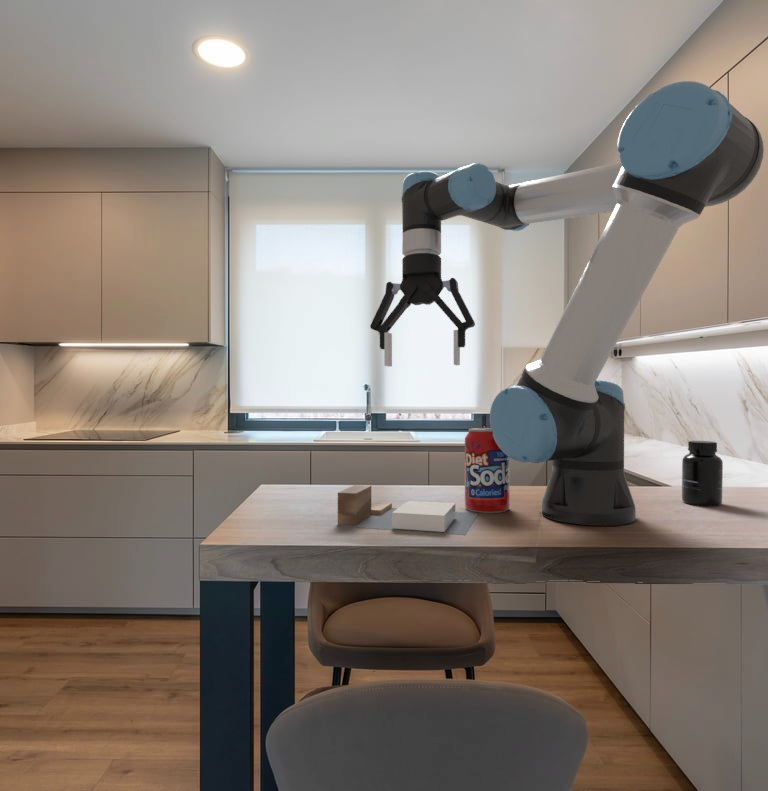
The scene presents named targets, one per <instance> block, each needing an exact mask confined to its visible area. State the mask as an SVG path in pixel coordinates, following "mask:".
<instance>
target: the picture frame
mask: <svg viewBox="0 0 768 791" xmlns="http://www.w3.org/2000/svg"><path fill="white" fill-rule="evenodd" d="M397 508H398V509H396V510H395V511H393V512H392V528H394V529H408V530H423V531H437V532H445V531H446V529H447V528H448V527H449V525H450V524H451V523H452V522H453V520H454V519H455V512H456V502H436V501H434V502H433V501H417V500H408V501H407V500H406V502H405V503H403V504H401V505H400V506H399V507H397Z"/></svg>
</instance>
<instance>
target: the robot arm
mask: <svg viewBox="0 0 768 791" xmlns="http://www.w3.org/2000/svg"><path fill="white" fill-rule="evenodd" d="M622 124H623V125H622V127H621V129H620V131H619V134H618V138H617V146H616V147H617V148H616V149H617V151H618V158H619V162H615V163H614V162H613V163H610V164H609V163H608V164H606V165H600V166H595V167H591V168H587V169H582V170H576V171H573V172H571V171H570V172H567V173H564V174H563V173H562V174H558V175H553V176H547V177H543V178H538V179H534V180H530V181H525V182H520V183H515V184H510V185H508V184H507V185H506V184H503V183H501V182H498V181H496V179H495V177H494V173H493V172H492V171H490V170H489V168H488V166H487V165H485V164H483V163H482V162H481V163H480V162H476V163H475V162H474V163H471V164H469V165H464V166H460V167H459V168H457V169H454V170H452V171H451V172H448V173H446V174H443V175H441V176H440V175H438V174H437V173H436V172H433V171H429V170H428V171H426V170H421V171H418V172H416V171H415V172H412V173H409V174H408V175H406V176H405V178H404V179H403V182H402V192H401V193H402V195H401V203H402V204H401V205H402V208H401V210H402V211H401V212H402V219H401V220H402V221H401V222H402V223H401V224H402V242H401V243H402V244H401V245H402V248H401V249H402V255H403V256H404V257H402V260H401V262H402V263H401V264H402V267H401V268H402V276H401V277H402V279H401V283H393V282H392V281H388V282H387V283H386V284H385V292H384V293H385V294H384V295H383V298H382V300H381V302H380V304H379V306H378V309H376V313H375V315H374V316H373V319H372V322H371V324H370V326H369V327H370V329H371V330H373V331H376V332H378V333H379V349H380V350H384V359H383V360H384V365H383V366H384V367H393V334H392V333H391V332H389V331H390V330H391V329H392V327H393V326H394V325H395V324H396V322H398V320H399V319H400V318H401V316H403V314H404V312H405V311H406V310H407V309H408V308H410V306H411V305H414V306H420V305H427V306H429V305H432V304H433V303H435V304H436V305H437V306H438V307H439V308H440V310H441V311H442V312H443V313H444V314H445V315H446V316H447V318H448V319H449V320H450V321H451V322H452V323H453V324H454V325H455V327H456V328H457V329H453V366H460V365H461V360H460V359H461V354H460V352H461V348H466V332H467V330H468V329H470V328H474V327H475V326H476V322H475V321H474V318H473V317H472V314H471V313H470V310H469V309H468V307H467V305H466V303H465V301H464V299H463V296H462V295H461V294H460V291H459V284H458V283H459V282H458V280H456V278H454V277H451V278H450V279H447V280H443V279H442V258H441V256H440V255H441V253H442V221H445V220H448V219H452V218H454V217H458V216H460V217H461V216H462V217H465V218H469V219H472V220H475V221H478V222H482V223H485V224H488V225H491V226H495V227H497V228H499V229H501V230H505V231H514V232H519V231H522V230H524V229H525V228H527V227H528V226H529V225H530V224H535V223H543V222H549V221H557V220H565V219H571V218H579V217H585V216H586V217H587V216H593V215H600V214H607V213H611V215H610V217H609V219H608V220H607V223H606V225H605V227H604V229H603V231H602V233H601V235H600V237H599V239H598V242H597V244H596V245H595V248H594V249H593V252H592V254H591V256H590V258H589V260H588V262H587V264H586V266H585V268H584V270H583V272H582V274H581V275H580V278H579V280H578V282H577V284H576V287H575V288H574V290H573V292H572V294H571V296H570V299H569V301H568V303H567V305H566V307H565V309H564V311H563V312H562V315H561V316H560V319H559V321H558V323H557V325H556V327H555V329H554V331H553V333H552V335H551V337H550V339H549V341H548V343H547V345H546V347H545V349H544V352H543V353H542V355H541V358H539V359H538V360H535V361H532V362H530V363H527V364H526V366H525V367H524V369H523V370H522V374H521V375H520V377H519V379H518V381H517V384H514V385H511V386H508V387H506V388H504V389H502V390H500V391H499V393H498V394H497V395H496V396H495V397H494V399H493V401H492V403H491V406H490V412H489V426H490V427H489V428H491V429H492V431H493V437H494V440H495V442H496V443H497V445H498V447H499V448H500V449H501V450H502V451H503V452H504V453H505V454H506V455H507V456H508V457H509V459H512V460H514V461H517V462H520V463H531V464H541V463H545V462H547V461H552V467H551V468H552V469H551V473H550V476H549V478H548V479H549V480H548V483H547V485H546V489H545V492H544V494H543V497H542V501H541V514H542V516H544V517H546V518H547V519H550V520H553V521H557V522H561V523H562V522H563V523H569V524H575V525H585V526H599V527H600V526H601V527H602V526H604V527H605V526H623V525H627V524H628V525H629V524H632V523H634V522H636V520H637V519H636V517H637V516H636V515H637V514H636V512H637V511H636V510H637V507H636V504H635V501H634V498H633V496H632V493H631V490H630V486H629V484H628V481H627V478H626V475H625V411H626V404H625V402H624V401H625V400H624V399H625V398H624V391H623V389H622V387H621V386H620V385H618V384H617V383H614V382H610V381H605V380H597V379H598V378H599V376H600V374H601V373H602V370H603V369H604V367H605V365H606V363H607V361H608V359H609V358H610V356H611V354H612V352H613V350H614V349H615V346H616V344H617V343H618V341H619V339H620V337H621V335H622V333H623V332H624V330H625V328H626V327H627V325H628V323H629V320H630V319H631V317H632V315H633V313H634V312H635V310H636V308H637V306H638V304H639V303H640V300H641V298H642V297H643V295H644V293H645V292H646V289H647V288H648V286H649V284H650V283H651V281H652V279H653V277H654V275H655V273H656V271H657V269H658V268H659V266H660V264H661V262H662V261H663V258H664V256H666V255H665V254H666V253H667V252H668V249H669V247H670V246H671V244H672V242H673V240H674V238H675V236H676V235H677V232H678V231H679V228H680V227H682V226H683V225H685V224H687V223H690V222H693V221H694V220H698V219H699V217H700V216H701V214H702V213H703V211H704V208H707V207H712V206H716V205H720V204H723V203H726V202H728V201H730V200H731V199H733V198H735V197H737V196H738V195H740V194H741V193H742V192H743V191H745V190H746V188H747V187H749V186H750V184H751V183H752V182H753V180H754V179H755V178H756V176H757V175H758V173H759V171H760V169H761V166H762V162H763V159H764V150H765V148H764V147H765V146H764V141H763V137H762V135H761V131H759V128H758V127H757V126H756V125H755V123H753V121H751V120H750V119H749V118H747V117H746V116H744V115H743V114H742V113H741V112H740V111H739V110H738V109H737V108H736V107H735V106H734V105H732V104H731V103H730V101H729V100H728V98H727V97H726V96H725V95H724V94H723V93H721V92H720V91H719V90H715V89H713V88H711V87H710V86H708V85H706V84H705V83H702V82H697V81H691V80H688V81H687V80H685V81H676V82H673V83H670V84H667V85H664V86H662V87H660V88H659V89H657V90H656V91H655V92H654V93H650V94H648V95H647V96H646V97H644V98H643V99H642V100H640V102H639V103H638V104H637V105H635V107H634V108H633V109H632V110H631V111H630V113H629V115H628V116H627V117H626V119H625V120H624V122H623V123H622ZM444 288H446V290H447V291H448V292H451V295H452V297H453V299H454V301H455V303H456V305H457V306H458V308H459V311H460V313H461V315H462V317H463V319H464V320H465V321H461V320H460V318H459V317H458V316H457V315H456V314H455V313H454V311H453V310H452V309H451V308H450V307H449V305H447V303H446V302H445V301H444V300H443V299H442V297H440V296H439V295H440V293H441V292H442V291H443V290H444ZM399 291H401V293H403V296H402V297H401V299H399V301H398V303H397V305H396V306H395V307H394V309H393V310H392V311H391V312H390V314H389V315H388V316H387V314H388V313H389V312H388V311H389V310H390V307H391V305H392V302H393V300H394V298H395V296H396V295H397V294H398V292H399ZM386 316H387V317H386Z"/></svg>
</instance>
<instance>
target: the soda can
mask: <svg viewBox="0 0 768 791" xmlns="http://www.w3.org/2000/svg"><path fill="white" fill-rule="evenodd" d="M464 507H465V509H466V510H468V511H469V512H472V513H479V514H500V513H501V514H502V513H505V512H507V511H509V509H510V457H508V456H507V455H506V454H505V453H504V452H503V451H502V450H501V449H500V448H499V447H498V445H497V443H496V442H495V440H494V437H493V431H492V429H491V428H490V427H473V428H472V427H471V428H468V433H467V434H466V436H465V437H464Z"/></svg>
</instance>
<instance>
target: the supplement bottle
mask: <svg viewBox="0 0 768 791" xmlns="http://www.w3.org/2000/svg"><path fill="white" fill-rule="evenodd" d="M687 443H688V445H687V446H688V448H687V450H688V451H689V453H687V454H685V455H684V456H683V458H682V459H681V460H682V464H681V465H682V466H681V467H682V468H681V470H682V471H681V473H682V474H681V499H682V502H683V503H685V504H687V503H688V504H687V505H691V504H693V505H692V506H697V505H699V506H698V507H719V505H720V506H721V505H722V503H723V472H724V471H723V469H724V464H723V460H722V459H721V457H719V456H718V455H717V454H716V453H717V452H718V443H717V442H716V441H710V440H688V442H687Z"/></svg>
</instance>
